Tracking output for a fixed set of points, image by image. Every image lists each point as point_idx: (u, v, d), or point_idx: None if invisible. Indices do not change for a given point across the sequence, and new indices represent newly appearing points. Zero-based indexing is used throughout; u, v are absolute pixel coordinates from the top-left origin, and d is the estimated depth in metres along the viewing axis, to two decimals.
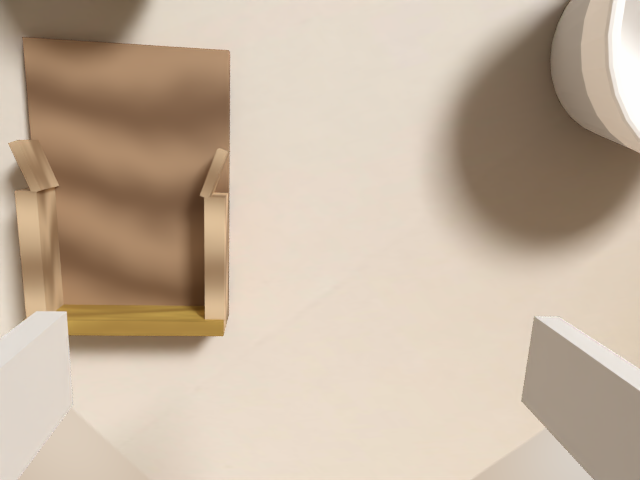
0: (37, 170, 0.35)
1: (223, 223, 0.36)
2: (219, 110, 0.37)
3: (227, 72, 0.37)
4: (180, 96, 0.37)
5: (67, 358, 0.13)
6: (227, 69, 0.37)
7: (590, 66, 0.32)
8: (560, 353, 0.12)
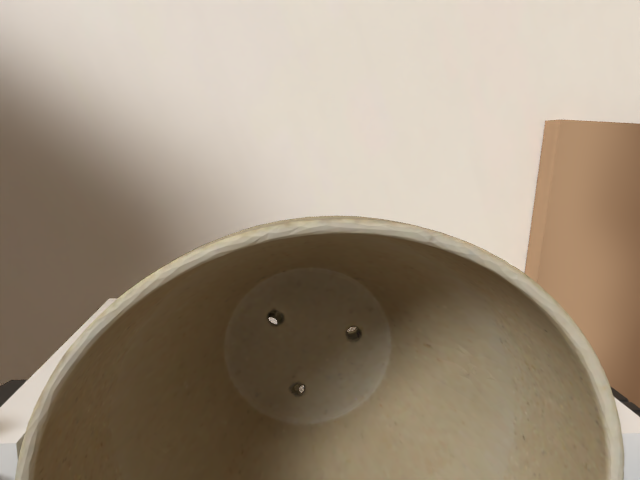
0: None
1: None
2: None
3: (604, 124, 0.17)
4: (638, 225, 0.18)
5: None
6: (597, 124, 0.17)
7: None
8: None
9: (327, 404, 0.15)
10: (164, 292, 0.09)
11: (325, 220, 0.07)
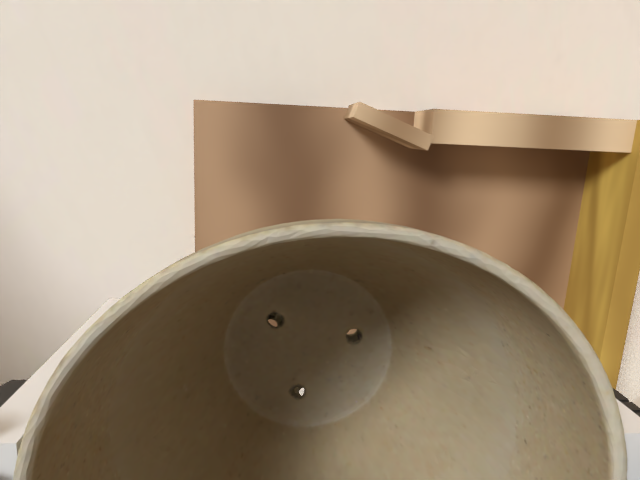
0: None
1: (476, 112, 0.21)
2: (286, 119, 0.24)
3: (227, 103, 0.23)
4: (266, 178, 0.24)
5: None
6: (223, 103, 0.23)
7: None
8: None
9: (328, 407, 0.15)
10: (163, 295, 0.09)
11: (326, 224, 0.07)
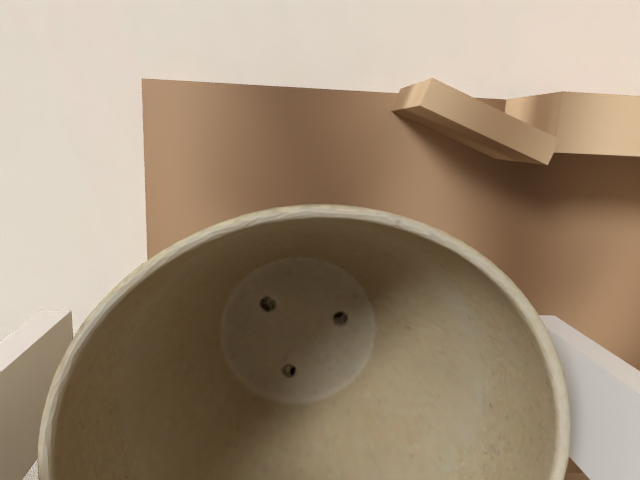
0: None
1: (634, 98, 0.12)
2: (297, 111, 0.14)
3: (199, 85, 0.14)
4: (264, 209, 0.15)
5: None
6: (191, 84, 0.14)
7: None
8: None
9: (316, 385, 0.16)
10: (167, 274, 0.10)
11: (306, 206, 0.08)
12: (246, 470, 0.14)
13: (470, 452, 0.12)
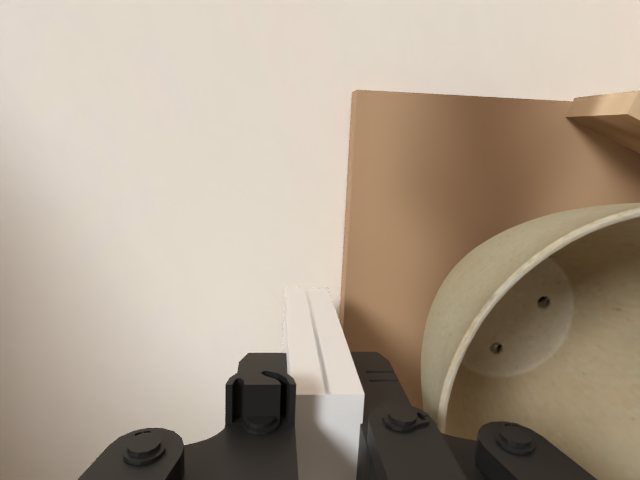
0: None
1: None
2: (485, 118, 0.16)
3: (405, 95, 0.16)
4: (451, 203, 0.17)
5: None
6: (398, 95, 0.16)
7: None
8: None
9: (518, 361, 0.18)
10: None
11: None
12: None
13: None
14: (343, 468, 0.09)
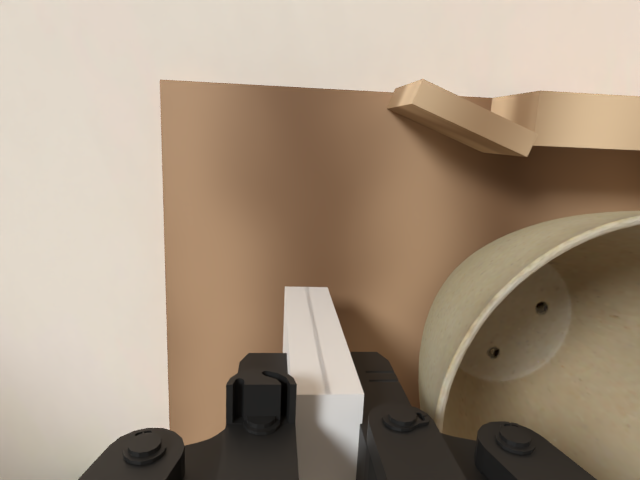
0: None
1: (605, 97, 0.14)
2: (301, 109, 0.16)
3: (212, 85, 0.15)
4: (271, 198, 0.16)
5: None
6: (205, 85, 0.15)
7: None
8: None
9: (515, 366, 0.18)
10: None
11: None
12: None
13: None
14: (343, 468, 0.09)
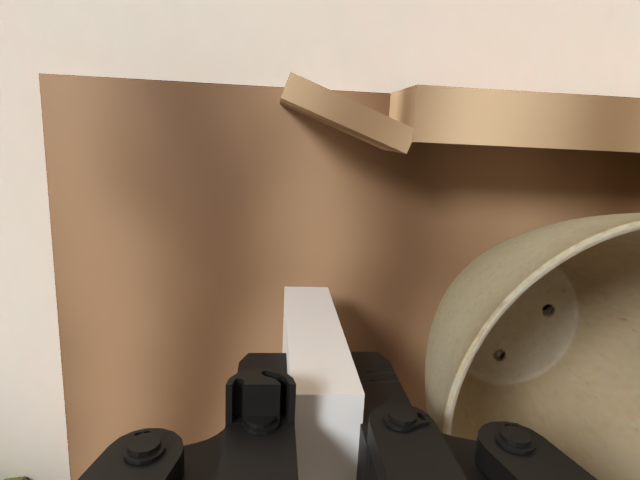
0: None
1: (486, 91, 0.13)
2: (189, 105, 0.15)
3: (93, 79, 0.15)
4: (162, 197, 0.16)
5: None
6: (87, 79, 0.15)
7: None
8: None
9: (521, 369, 0.18)
10: None
11: None
12: None
13: None
14: (343, 468, 0.09)
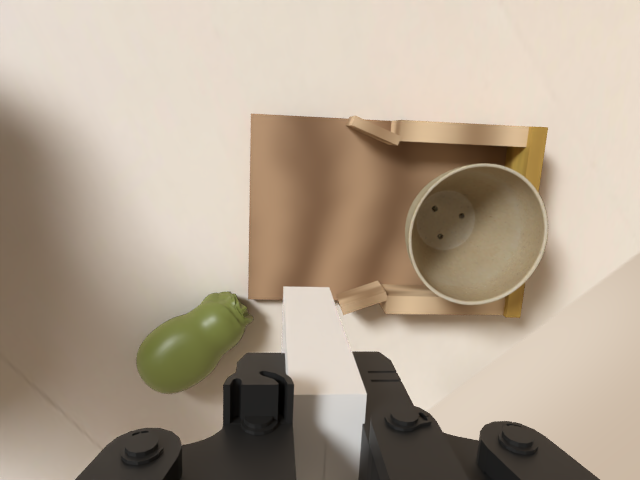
0: (367, 294, 0.38)
1: (427, 122, 0.35)
2: (309, 126, 0.37)
3: (272, 116, 0.37)
4: (296, 164, 0.38)
5: None
6: (269, 116, 0.37)
7: None
8: None
9: (450, 243, 0.40)
10: None
11: (483, 163, 0.32)
12: (431, 265, 0.38)
13: (515, 251, 0.36)
14: (345, 468, 0.09)
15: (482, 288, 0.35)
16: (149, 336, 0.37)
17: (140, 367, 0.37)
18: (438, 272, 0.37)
